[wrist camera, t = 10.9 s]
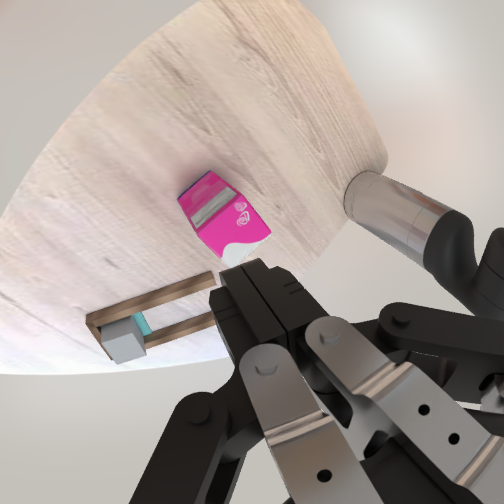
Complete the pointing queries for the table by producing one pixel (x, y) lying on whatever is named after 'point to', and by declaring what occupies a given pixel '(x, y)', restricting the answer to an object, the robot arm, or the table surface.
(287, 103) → the table surface
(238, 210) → the supplement box
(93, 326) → the wooden u-shaped frame
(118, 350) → the block
